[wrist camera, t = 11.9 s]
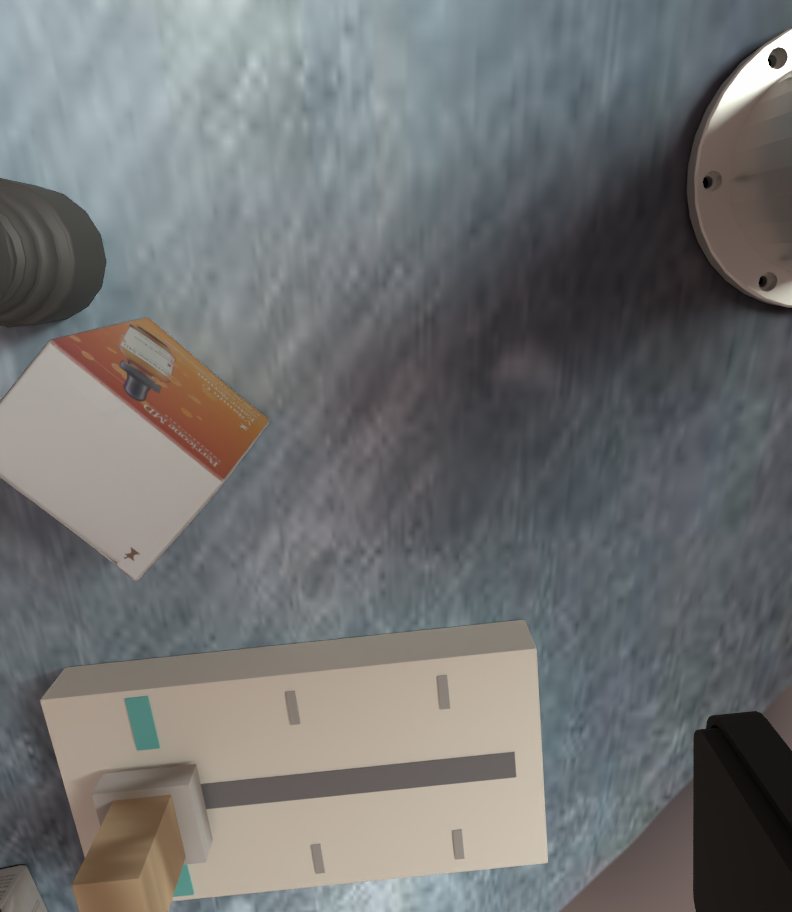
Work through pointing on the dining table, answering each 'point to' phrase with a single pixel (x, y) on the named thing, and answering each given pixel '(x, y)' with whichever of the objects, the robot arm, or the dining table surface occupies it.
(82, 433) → the small box
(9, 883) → the coffee box
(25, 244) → the candle holder
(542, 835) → the console
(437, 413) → the dining table surface
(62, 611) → the dining table surface
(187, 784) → the fader
